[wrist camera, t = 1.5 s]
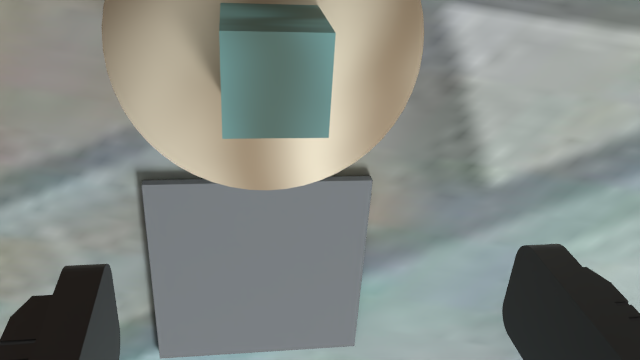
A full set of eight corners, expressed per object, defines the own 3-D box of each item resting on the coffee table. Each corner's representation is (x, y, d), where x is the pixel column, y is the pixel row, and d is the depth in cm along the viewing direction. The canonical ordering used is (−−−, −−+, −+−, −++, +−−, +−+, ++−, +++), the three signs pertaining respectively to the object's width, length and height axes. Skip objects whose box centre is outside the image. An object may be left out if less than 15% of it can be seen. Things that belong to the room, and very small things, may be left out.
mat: (370, 175, 37) (372, 180, 36) (352, 340, 43) (354, 345, 43) (142, 180, 35) (141, 185, 34) (160, 352, 41) (160, 358, 41)
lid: (436, -119, 23) (492, -114, 18) (397, 176, 30) (431, 237, 25) (86, -140, 21) (43, -141, 16) (125, 181, 28) (103, 249, 23)
